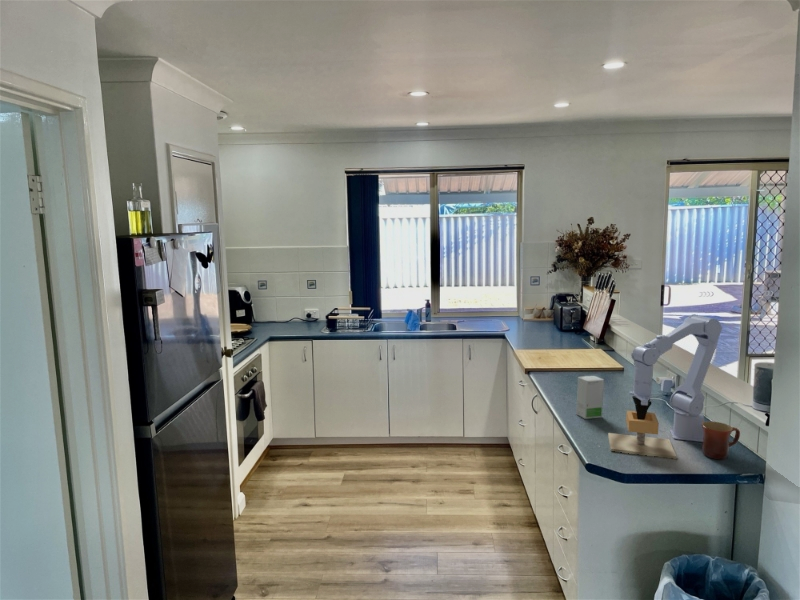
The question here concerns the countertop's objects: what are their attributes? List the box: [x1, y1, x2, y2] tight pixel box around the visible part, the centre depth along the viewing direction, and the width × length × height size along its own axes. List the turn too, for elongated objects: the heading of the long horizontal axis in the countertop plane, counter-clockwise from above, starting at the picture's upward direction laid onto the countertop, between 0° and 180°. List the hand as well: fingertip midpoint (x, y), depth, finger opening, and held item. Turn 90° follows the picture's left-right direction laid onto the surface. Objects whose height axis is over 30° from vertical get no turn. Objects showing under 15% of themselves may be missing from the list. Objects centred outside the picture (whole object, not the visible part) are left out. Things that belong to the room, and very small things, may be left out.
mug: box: [701, 420, 741, 460], centre depth 173 cm, size 12×9×10 cm
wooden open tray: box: [625, 410, 660, 435], centre depth 180 cm, size 9×9×4 cm
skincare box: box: [575, 375, 605, 420], centre depth 210 cm, size 8×7×16 cm
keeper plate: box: [607, 432, 678, 460], centre depth 181 cm, size 20×14×6 cm
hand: (640, 418), depth 184 cm, fingers closed on wooden open tray
